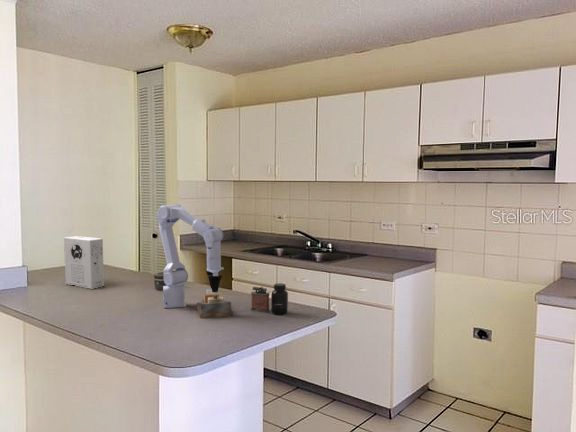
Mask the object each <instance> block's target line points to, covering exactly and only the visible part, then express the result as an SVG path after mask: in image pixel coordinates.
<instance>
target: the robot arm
mask: <svg viewBox="0 0 576 432" xmlns="http://www.w3.org/2000/svg"><path fill="white" fill-rule="evenodd" d="M156 215H157V219H158V230H159V234H160V238H161V242H162V243H161V244H162V247H163V251H164V256H165V262H166V266H165V267H164V269H162V270H163V272H164V278H163V279H164V282H165V284H166V286H163V293H162V294H163V297H162V304H163V305H162V306H163V309H169V308H170V309H171V308H183V307H184V308H186V307H187V303H186V296H185V294H186V293H185V291H186V290H185V285H186V284H187V281H188V279H189V272H188V271H187V270H186V268H185V265H184V264H183V263H182V262H180V258H179V252H178V248H177V245H176V244H177V243H176V239H175V234H174V230H173V227H174V225H175V224H176V223H177V222H178V221H181V220H182V221H183V222H185V223H186V224H188V225H190V226H192V230H193V231H194V232H195V233H197V234H199V236H201V237H203V240H204V242H205V246H206V269H205V270H206V271H205V273H206V274H207V278H208V281H209V287H210V289H212V292H214V293H218V292H219V287H220V284H221V283H220V282H221V280H222V278H223V275H219V274H220V273H221V272H220V271H222V270H223V271H224V269H225V268H224V266H223V267H222V266H221V265H222V263H221V262H222V255H221V254H222V253H221V250H222V249H221V247H222V245H221V241H222V240H223V239H224V231H223V230H222V229H221V228H220V227H214V225H213V224H210V223H208V222H206V219H204V218H199V219H198V218H196V217H195V216H193V215H192V214H191V213H190V212H189V211H187V210H186V209H185V207H184V206H182V205H181V204H168V205H165V204H162V205H161V206H160V207H158V210H157V211H156Z"/></svg>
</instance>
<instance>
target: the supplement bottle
mask: <svg viewBox="0 0 576 432" xmlns="http://www.w3.org/2000/svg"><path fill="white" fill-rule="evenodd" d="M286 286H287V285H286V283H280V282H279V283H274V285H273V290H272V292H271V297H270V298H271V300H270V301H271V305H270V306H271V310H270V311H271V314H273V315H276V316H283V315H284V314H285V315H287V313H288V312H289V310H288V309H289V304H288V303H289V292H288V291H287V288H286Z"/></svg>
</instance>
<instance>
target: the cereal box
mask: <svg viewBox="0 0 576 432" xmlns="http://www.w3.org/2000/svg"><path fill="white" fill-rule="evenodd" d="M63 239H64V240H63V242H64V243H63V244H64V246H63V247H64V271H65V272H64V273H65V274H64V275H65V284H66V283H67V284H71V285H76V286H81V287H86V288H91V289H92V288H97V287H101V288H103V287H102V286H104V287H105V278H104V277H105V276H104V272H105V271H104V246H103V245H104V243H103V242H104V241H103V238H99V237H91V236H89V237H88V236H80V235H75V236H64V237H63ZM76 286H75V287H76ZM81 287H80V288H81ZM86 288H85V289H86ZM91 289H90V290H91ZM97 289H98V288H97ZM92 290H93V289H92Z"/></svg>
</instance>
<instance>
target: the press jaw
mask: <svg viewBox="0 0 576 432" xmlns="http://www.w3.org/2000/svg"><path fill="white" fill-rule="evenodd" d="M205 293H206V294H204V296H205V303H208V297H214V295H217V297H220V293H216V292H212V288H206V290H205Z"/></svg>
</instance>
